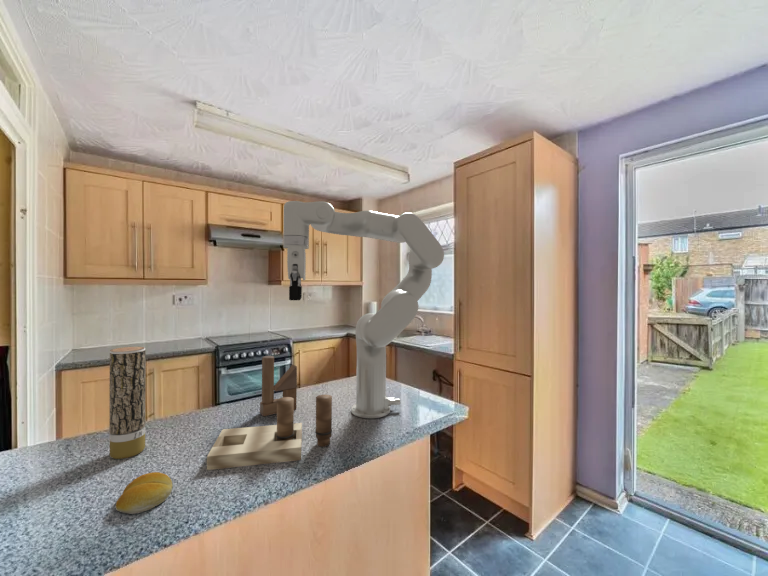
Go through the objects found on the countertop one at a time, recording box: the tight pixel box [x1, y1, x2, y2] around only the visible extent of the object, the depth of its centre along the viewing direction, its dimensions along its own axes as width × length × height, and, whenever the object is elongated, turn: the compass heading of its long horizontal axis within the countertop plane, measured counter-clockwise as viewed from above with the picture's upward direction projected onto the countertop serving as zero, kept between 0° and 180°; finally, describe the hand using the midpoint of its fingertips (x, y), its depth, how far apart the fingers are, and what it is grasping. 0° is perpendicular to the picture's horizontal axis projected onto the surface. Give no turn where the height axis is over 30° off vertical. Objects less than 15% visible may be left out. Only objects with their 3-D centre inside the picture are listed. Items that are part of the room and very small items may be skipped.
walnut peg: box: [315, 394, 333, 448], centre depth 85 cm, size 4×4×12 cm
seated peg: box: [276, 396, 295, 441], centre depth 83 cm, size 4×4×12 cm
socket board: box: [206, 422, 303, 471], centre depth 82 cm, size 20×14×3 cm
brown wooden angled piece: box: [259, 355, 298, 417], centre depth 107 cm, size 4×11×18 cm, turn 126°
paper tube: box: [108, 346, 147, 460], centre depth 80 cm, size 7×7×25 cm
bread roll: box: [115, 471, 174, 515], centre depth 63 cm, size 8×9×4 cm
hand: (295, 299), depth 101 cm, fingers open, 9 cm apart
